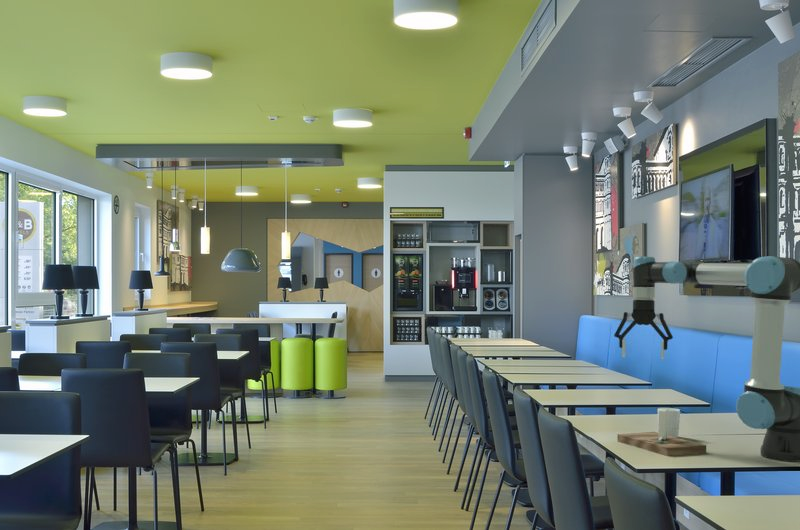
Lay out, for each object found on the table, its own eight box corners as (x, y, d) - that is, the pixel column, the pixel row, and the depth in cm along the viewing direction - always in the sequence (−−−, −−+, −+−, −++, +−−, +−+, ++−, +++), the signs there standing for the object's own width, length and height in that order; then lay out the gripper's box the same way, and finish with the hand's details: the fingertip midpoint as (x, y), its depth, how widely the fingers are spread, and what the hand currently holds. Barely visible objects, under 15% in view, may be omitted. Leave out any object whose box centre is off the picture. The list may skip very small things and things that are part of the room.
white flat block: (667, 436, 287) (667, 409, 287) (662, 442, 277) (663, 413, 277) (660, 436, 288) (661, 408, 288) (655, 441, 278) (656, 412, 278)
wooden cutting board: (706, 452, 275) (706, 444, 275) (667, 455, 269) (667, 447, 269) (654, 438, 299) (654, 431, 299) (617, 441, 293) (617, 433, 293)
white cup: (681, 439, 299) (681, 411, 300) (658, 438, 301) (658, 410, 301) (678, 435, 307) (678, 408, 307) (656, 434, 309) (656, 407, 309)
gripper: (680, 300, 301) (680, 359, 300) (610, 298, 310) (609, 355, 310) (679, 300, 294) (678, 360, 293) (607, 298, 303) (606, 356, 303)
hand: (643, 358), depth 302 cm, fingers open, 13 cm apart
